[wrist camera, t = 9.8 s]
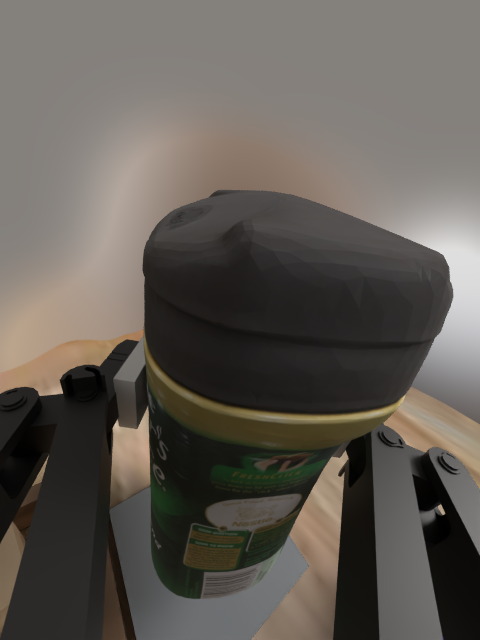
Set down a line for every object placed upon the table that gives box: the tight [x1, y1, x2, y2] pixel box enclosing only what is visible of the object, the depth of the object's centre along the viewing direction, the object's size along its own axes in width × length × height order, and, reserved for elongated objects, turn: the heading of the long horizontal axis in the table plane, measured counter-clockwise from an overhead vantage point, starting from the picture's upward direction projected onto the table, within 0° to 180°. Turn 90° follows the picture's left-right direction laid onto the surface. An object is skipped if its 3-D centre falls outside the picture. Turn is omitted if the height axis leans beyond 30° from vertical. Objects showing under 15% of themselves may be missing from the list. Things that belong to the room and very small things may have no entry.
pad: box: [109, 486, 309, 640], centre depth 19 cm, size 12×12×1 cm
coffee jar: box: [143, 190, 453, 599], centre depth 11 cm, size 10×8×19 cm
